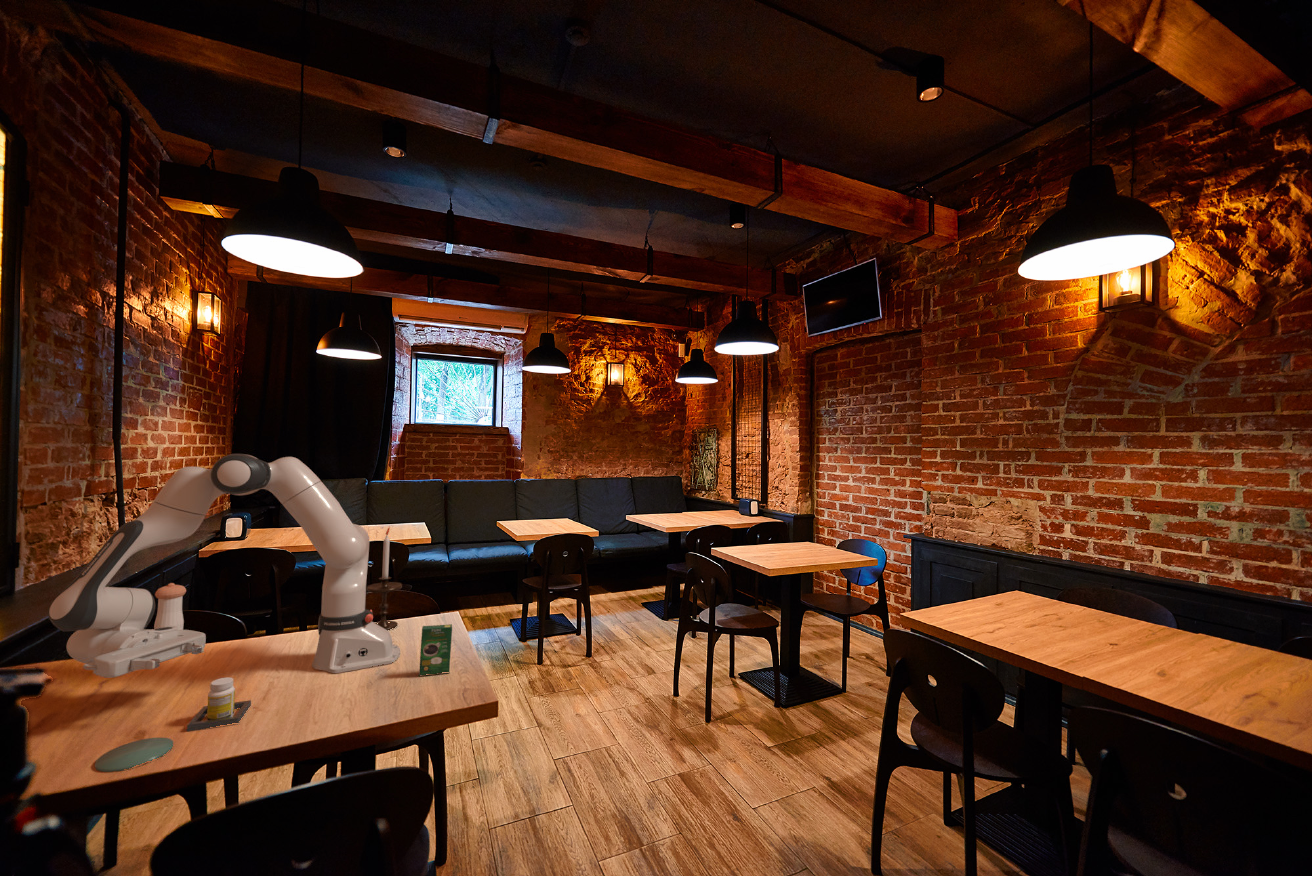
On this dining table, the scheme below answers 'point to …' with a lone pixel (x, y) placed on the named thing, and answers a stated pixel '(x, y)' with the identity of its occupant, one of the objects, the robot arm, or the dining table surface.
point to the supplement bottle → (221, 699)
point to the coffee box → (435, 649)
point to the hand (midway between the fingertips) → (179, 657)
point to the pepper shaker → (170, 606)
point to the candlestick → (385, 587)
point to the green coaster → (133, 754)
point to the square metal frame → (198, 724)
